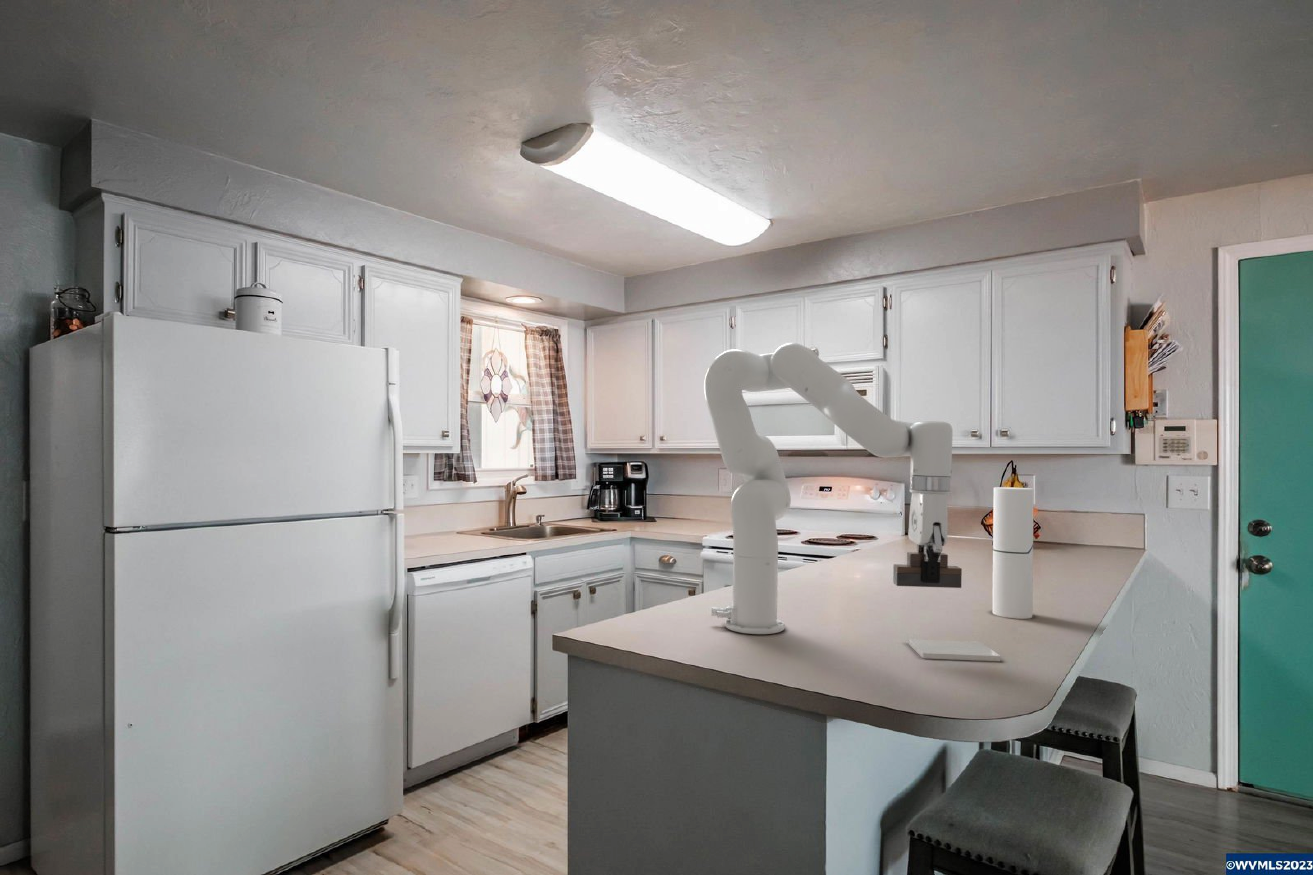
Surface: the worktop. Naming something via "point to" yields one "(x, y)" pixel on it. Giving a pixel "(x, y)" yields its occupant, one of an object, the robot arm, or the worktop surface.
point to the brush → (913, 572)
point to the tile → (953, 650)
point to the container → (1013, 552)
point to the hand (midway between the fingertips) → (927, 579)
